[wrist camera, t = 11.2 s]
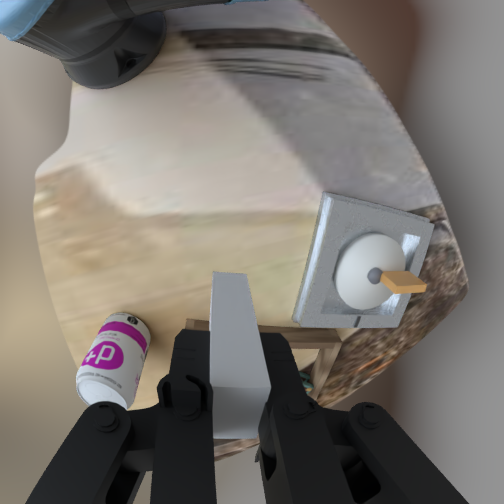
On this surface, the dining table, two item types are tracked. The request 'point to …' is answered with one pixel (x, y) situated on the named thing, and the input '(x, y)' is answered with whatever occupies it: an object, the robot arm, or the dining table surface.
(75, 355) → the dining table surface
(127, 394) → the supplement can
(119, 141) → the dining table surface
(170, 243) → the dining table surface
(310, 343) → the book tray
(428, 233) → the dial panel
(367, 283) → the dial
